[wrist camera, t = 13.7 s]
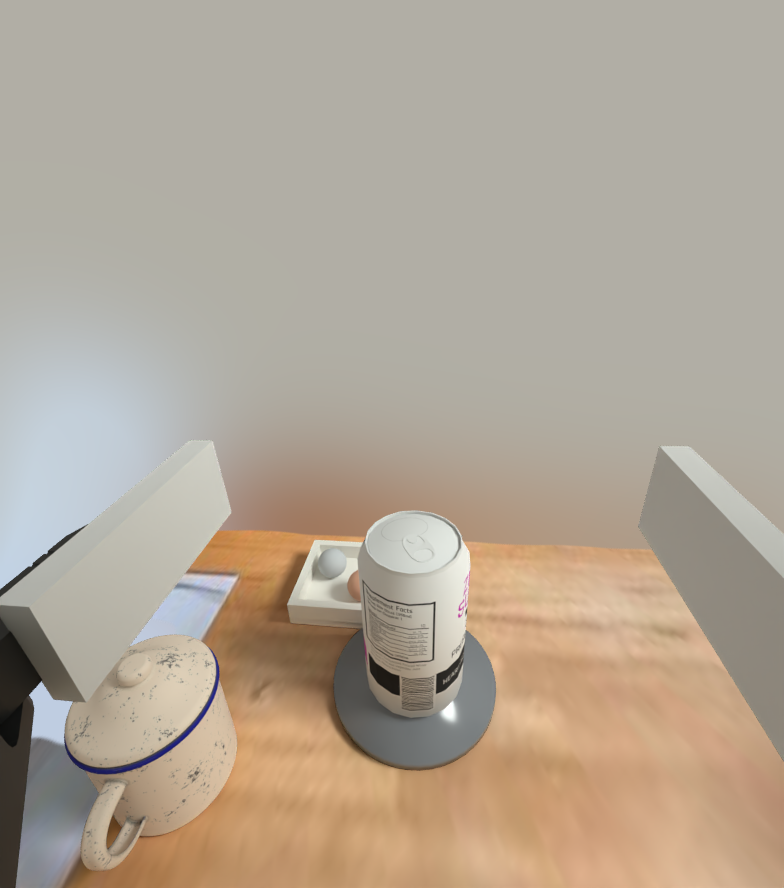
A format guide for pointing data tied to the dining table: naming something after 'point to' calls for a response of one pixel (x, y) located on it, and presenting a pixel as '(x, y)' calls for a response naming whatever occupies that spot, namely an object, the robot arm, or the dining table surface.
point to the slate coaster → (415, 737)
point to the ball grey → (332, 562)
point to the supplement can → (414, 611)
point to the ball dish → (326, 591)
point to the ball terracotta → (354, 585)
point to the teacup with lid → (151, 744)
